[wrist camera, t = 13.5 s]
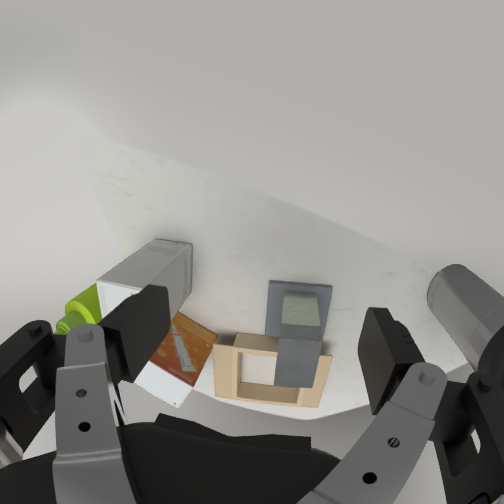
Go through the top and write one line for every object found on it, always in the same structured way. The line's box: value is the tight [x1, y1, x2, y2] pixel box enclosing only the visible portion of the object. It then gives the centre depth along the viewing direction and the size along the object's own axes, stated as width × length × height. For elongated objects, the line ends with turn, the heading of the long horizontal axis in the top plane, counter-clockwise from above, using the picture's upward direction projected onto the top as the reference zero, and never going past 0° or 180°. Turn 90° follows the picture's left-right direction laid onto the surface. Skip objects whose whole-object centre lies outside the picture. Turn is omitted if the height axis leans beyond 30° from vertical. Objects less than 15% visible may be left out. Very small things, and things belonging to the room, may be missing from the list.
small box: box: [134, 312, 218, 408], centre depth 40 cm, size 8×6×13 cm
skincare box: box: [96, 239, 192, 320], centre depth 35 cm, size 8×7×16 cm
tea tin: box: [274, 290, 323, 388], centre depth 35 cm, size 5×7×12 cm, turn 178°
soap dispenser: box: [54, 283, 102, 335], centre depth 35 cm, size 6×7×20 cm
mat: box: [265, 280, 332, 339], centre depth 41 cm, size 9×9×1 cm
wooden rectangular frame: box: [213, 333, 332, 408], centre depth 43 cm, size 18×12×4 cm, turn 87°
